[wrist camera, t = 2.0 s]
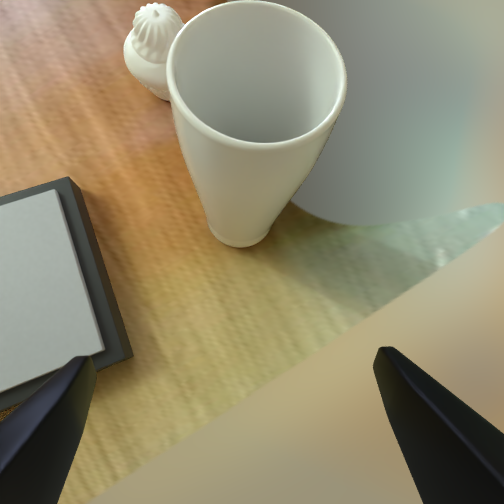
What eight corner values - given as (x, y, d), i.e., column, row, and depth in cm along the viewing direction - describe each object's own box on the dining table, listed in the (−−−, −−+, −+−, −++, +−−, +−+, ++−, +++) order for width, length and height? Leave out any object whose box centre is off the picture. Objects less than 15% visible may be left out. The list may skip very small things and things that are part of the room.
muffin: (179, 49, 29) (166, -36, 23) (218, 94, 28) (217, 19, 22) (122, 79, 28) (90, -2, 21) (161, 127, 27) (140, 59, 20)
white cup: (180, 214, 25) (122, 53, 11) (242, 166, 27) (263, -30, 12) (236, 275, 24) (253, 190, 10) (296, 222, 26) (388, 81, 11)
